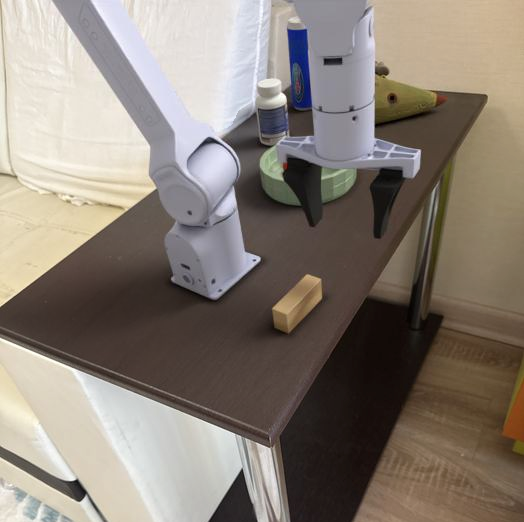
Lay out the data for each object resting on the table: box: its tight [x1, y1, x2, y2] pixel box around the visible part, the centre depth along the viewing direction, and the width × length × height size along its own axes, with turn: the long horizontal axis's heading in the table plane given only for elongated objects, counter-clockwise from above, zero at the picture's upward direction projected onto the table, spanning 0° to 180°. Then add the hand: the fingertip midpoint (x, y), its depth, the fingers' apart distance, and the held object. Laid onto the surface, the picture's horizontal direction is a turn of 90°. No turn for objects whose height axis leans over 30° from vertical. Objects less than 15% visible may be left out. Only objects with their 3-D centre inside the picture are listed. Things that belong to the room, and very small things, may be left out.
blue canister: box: [286, 15, 312, 112], centre depth 97 cm, size 5×5×15 cm
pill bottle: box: [254, 78, 290, 147], centre depth 90 cm, size 5×5×10 cm
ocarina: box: [374, 74, 448, 125], centre depth 92 cm, size 20×5×10 cm
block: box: [271, 273, 323, 335], centre depth 60 cm, size 7×2×3 cm, turn 143°
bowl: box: [259, 145, 358, 207], centre depth 81 cm, size 15×15×4 cm
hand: (347, 227), depth 58 cm, fingers open, 7 cm apart
